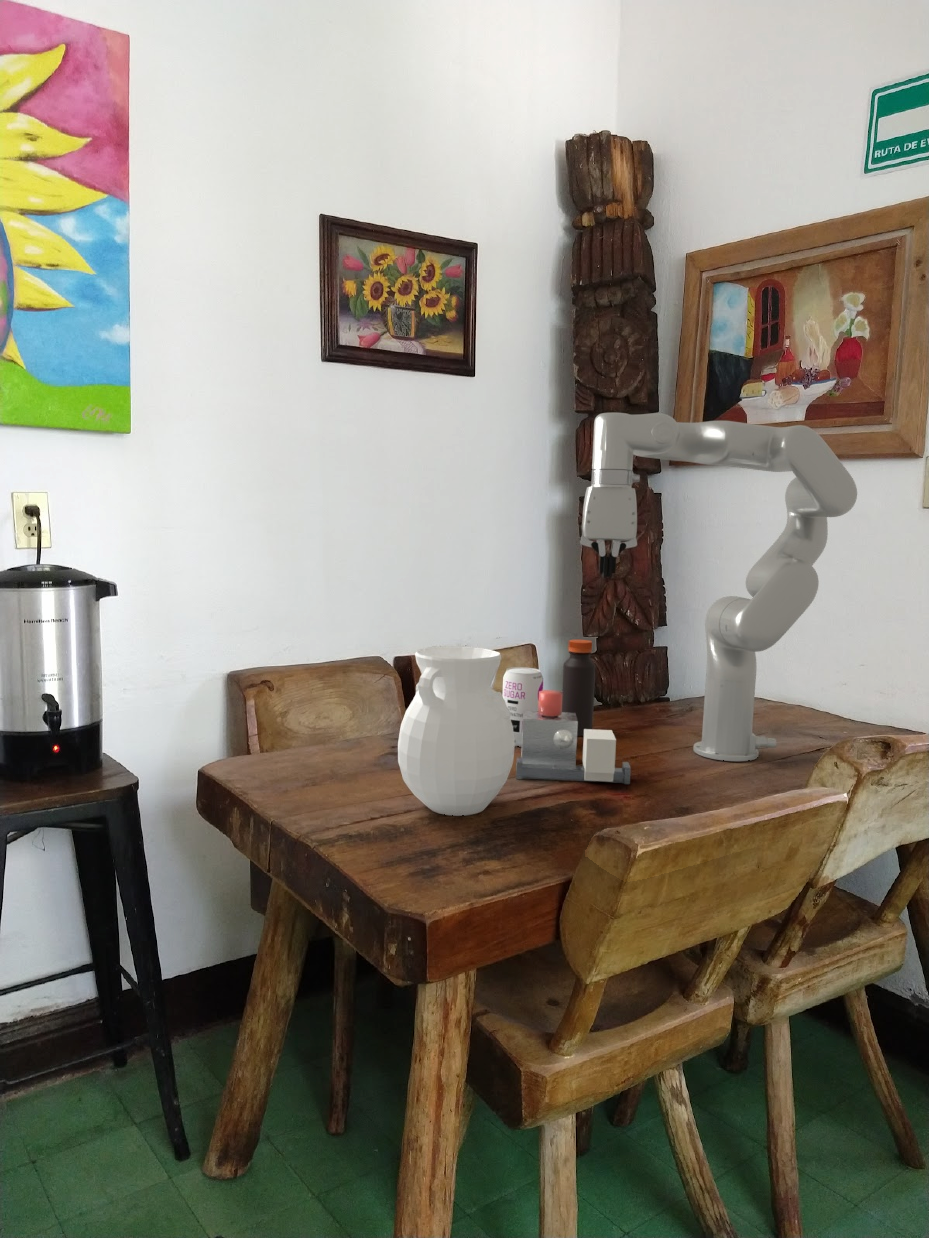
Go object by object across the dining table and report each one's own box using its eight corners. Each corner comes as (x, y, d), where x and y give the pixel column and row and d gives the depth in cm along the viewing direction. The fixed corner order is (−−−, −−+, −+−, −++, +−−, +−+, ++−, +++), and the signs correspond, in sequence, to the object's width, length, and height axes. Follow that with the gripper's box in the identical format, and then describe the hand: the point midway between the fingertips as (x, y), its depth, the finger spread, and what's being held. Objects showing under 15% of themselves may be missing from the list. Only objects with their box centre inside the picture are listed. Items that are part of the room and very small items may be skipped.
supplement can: (540, 738, 192) (543, 667, 190) (540, 748, 184) (543, 674, 182) (502, 736, 193) (504, 666, 191) (499, 746, 185) (502, 673, 183)
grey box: (573, 758, 178) (575, 712, 177) (575, 769, 170) (577, 721, 169) (521, 756, 178) (523, 710, 177) (521, 766, 171) (523, 719, 170)
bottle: (554, 730, 200) (558, 639, 197) (581, 728, 202) (586, 638, 200) (570, 737, 193) (574, 643, 191) (598, 735, 196) (602, 642, 194)
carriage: (609, 772, 167) (611, 730, 166) (613, 783, 160) (616, 739, 160) (582, 770, 168) (584, 728, 167) (585, 782, 161) (587, 738, 160)
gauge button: (560, 731, 176) (561, 690, 175) (561, 737, 171) (563, 695, 171) (536, 730, 176) (538, 689, 175) (537, 736, 172) (539, 694, 171)
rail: (627, 778, 166) (628, 761, 165) (629, 784, 162) (630, 767, 162) (516, 773, 167) (516, 757, 166) (516, 778, 163) (516, 762, 163)
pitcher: (448, 781, 160) (452, 639, 157) (534, 805, 149) (541, 652, 146) (371, 806, 146) (374, 650, 143) (461, 835, 135) (466, 666, 131)
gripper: (648, 481, 177) (643, 577, 179) (570, 479, 177) (566, 574, 180) (654, 480, 169) (649, 580, 172) (573, 478, 170) (568, 577, 172)
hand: (606, 577), depth 176 cm, fingers closed
